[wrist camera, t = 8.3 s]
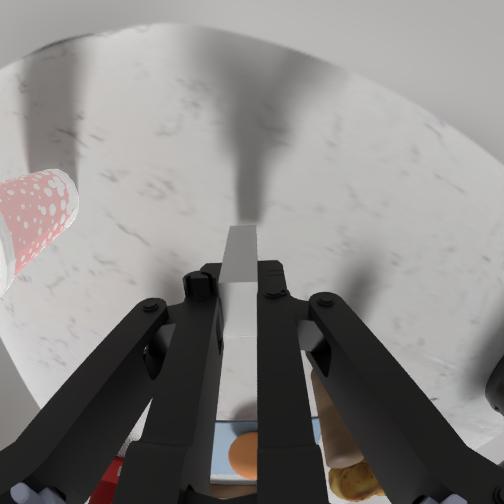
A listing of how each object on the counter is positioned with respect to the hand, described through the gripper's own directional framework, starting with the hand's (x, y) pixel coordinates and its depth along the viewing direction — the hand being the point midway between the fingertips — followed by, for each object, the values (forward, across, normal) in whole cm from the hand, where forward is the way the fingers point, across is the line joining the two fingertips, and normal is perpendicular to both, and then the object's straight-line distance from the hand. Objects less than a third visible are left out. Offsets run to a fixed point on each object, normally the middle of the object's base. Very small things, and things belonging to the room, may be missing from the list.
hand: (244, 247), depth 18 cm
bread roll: (+2, -15, +33) cm, 36 cm away
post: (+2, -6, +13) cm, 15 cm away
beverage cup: (+2, +14, -4) cm, 14 cm away
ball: (-1, 0, +23) cm, 23 cm away
